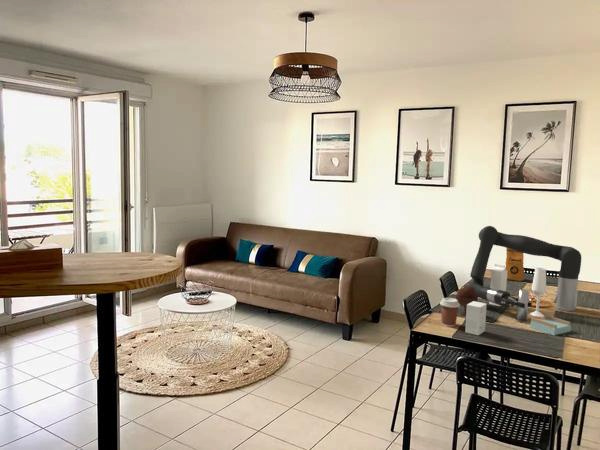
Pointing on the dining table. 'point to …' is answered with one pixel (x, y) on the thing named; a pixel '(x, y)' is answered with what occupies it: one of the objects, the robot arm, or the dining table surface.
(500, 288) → the milk
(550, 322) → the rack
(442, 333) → the dining table surface
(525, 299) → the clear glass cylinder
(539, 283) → the champagne flute
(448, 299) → the coffee cup
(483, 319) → the small box
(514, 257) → the coffee package
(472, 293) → the ice cream bowl
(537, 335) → the dining table surface
